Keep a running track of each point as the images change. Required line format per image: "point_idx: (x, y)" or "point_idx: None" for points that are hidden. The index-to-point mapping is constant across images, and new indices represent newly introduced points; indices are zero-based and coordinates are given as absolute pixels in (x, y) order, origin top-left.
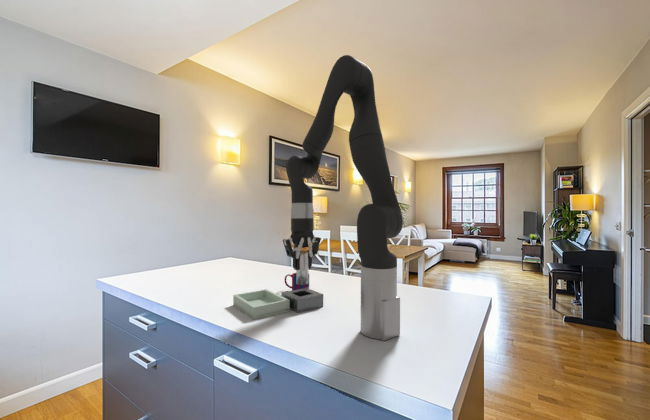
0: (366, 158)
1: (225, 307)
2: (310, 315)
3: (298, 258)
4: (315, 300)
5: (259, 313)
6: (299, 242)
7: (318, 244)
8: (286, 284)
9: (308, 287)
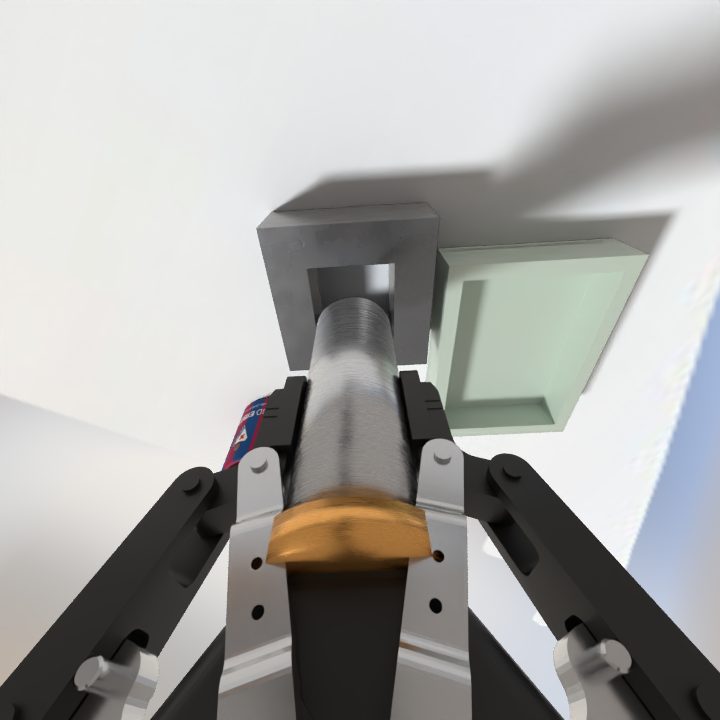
0: None
1: None
2: (396, 122)
3: (410, 450)
4: (316, 218)
5: (596, 246)
6: (465, 666)
7: (87, 604)
8: None
9: (247, 416)
